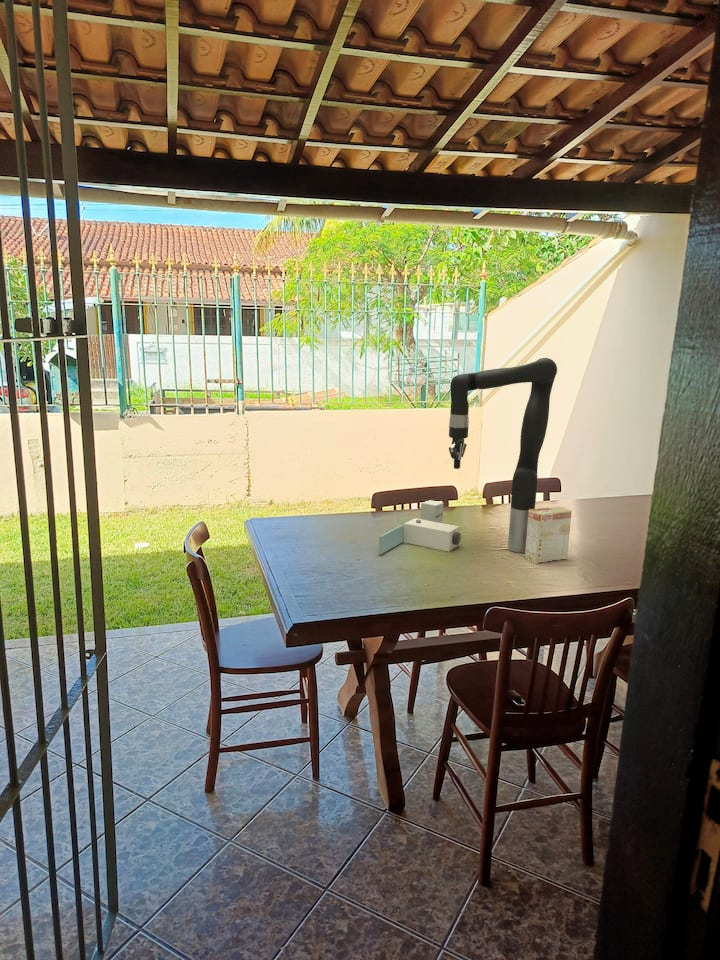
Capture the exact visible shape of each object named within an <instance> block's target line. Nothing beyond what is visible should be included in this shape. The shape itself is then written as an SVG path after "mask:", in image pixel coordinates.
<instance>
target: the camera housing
mask: <svg viewBox="0 0 720 960" xmlns="http://www.w3.org/2000/svg"><path fill="white" fill-rule="evenodd" d="M403 524H404V542H403V543H405V544H411V545H416V546H418V547H419V546H420V547H425V548H428V549H434V550H439V551H443V552H447V551H448V553H449V552H450V550H451V551H452V550H454V549H455V548H457V547H459V545H460V542H461V539H462V536H461V535H462V533H461V532H460V526H459V525H453V524H448V523H444V522H442V523H438V522H433V521H427V520H422V519H420V518H417V517H415V518H412V519H411V520H408V521H407V522H405V523H403Z"/></svg>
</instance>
